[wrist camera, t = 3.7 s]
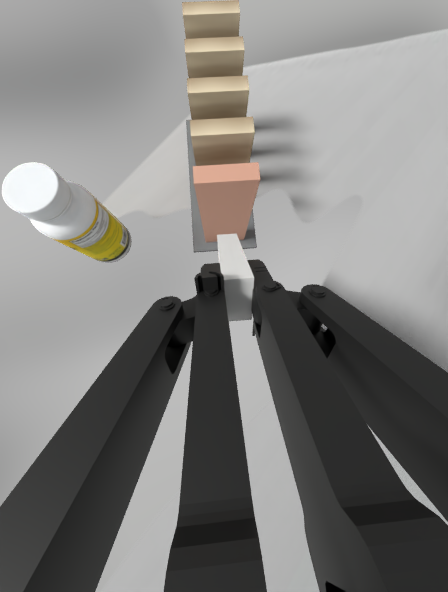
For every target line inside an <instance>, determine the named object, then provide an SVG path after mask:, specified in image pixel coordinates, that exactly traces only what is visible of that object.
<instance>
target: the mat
mask: <svg viewBox="0 0 448 592" xmlns="http://www.w3.org/2000/svg"><path fill="white" fill-rule="evenodd" d="M186 125H187V142H188V159H189V176H190V194H191V210H192V228H193V245H194V252H206V251H218V242H206V241H205V236H204V231H203V226H202V221H201V216H200V211H199V206H198V201H197V196H196V192H195V187H194V178H193V166H196V163H195V158H194V152H193V146H192V140H191V130H190V120H186ZM239 241H240V243H241V246H242V248H243V249H247V248H256V247H257V246H256V237H255V229H254V219H253V210H252V212H251V216H250V219H249V223H248V227H247V230H246V234H245V238H244V240H239Z"/></svg>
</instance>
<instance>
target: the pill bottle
mask: <svg viewBox="0 0 448 592" xmlns="http://www.w3.org/2000/svg"><path fill="white" fill-rule="evenodd" d="M2 196H3V199H4V201H5V202H6V204H7V205H8V206H9V207H10V208H11V209H13V210H14V211H16V212H18V213H20V214H22V215H24V216H25V217H27V218H29V219H30V220H31V222H32V224H33V225H34V227H35V228H36V229H37V230H38V231H40V232H41V233H43V234H44V235H46V236H48V237H50V238H51V239H54V240H56V241H58V242H60V243H62V244H64V245H66V246H69V247H70V248H73V249H75V250H77V251H79V252H81V253H83V254H85V255H87V256H89V257H91V258H94V259H96V260H98V261H101V262H106V263H111V262H115V261H118V260H120V259H121V258H123V257H124V256H125V255H126V254H127V253H128V252H129V250H130V247H131V236H130V233H129V231H128V230H127V228H126V227H125V226H124V225H123V224H122V223H121V222H120V221H119V220H118V219H117V218H116V217H115V216H114V215H113V214H111V213H110V212H109V211H108V210H107V209H106V208H105V207H104V206H103V205H102V204H101V203H100V202H99V201H98V200H97V199H96V198H95V197H94V196H93V195H92V194H91V193H90V192H89V191H88V190H86V189H85V188H84V187H82V186H81V185H79V184H77V183H74V182H72V181H67V180H64V179H63V178H62V177H61V176H60V175H59V174H58V173H57V172H55V171H54V170H53V169H52V168H50V167H49V166H47V165H45V164H42V163H36V162H31V163H25V164H21V165H19V166H17V167H16V168H14V169H13V170H12V171H10V173H9V174H8V175H7V176H6V178H5V179H4V182H3V185H2Z"/></svg>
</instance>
